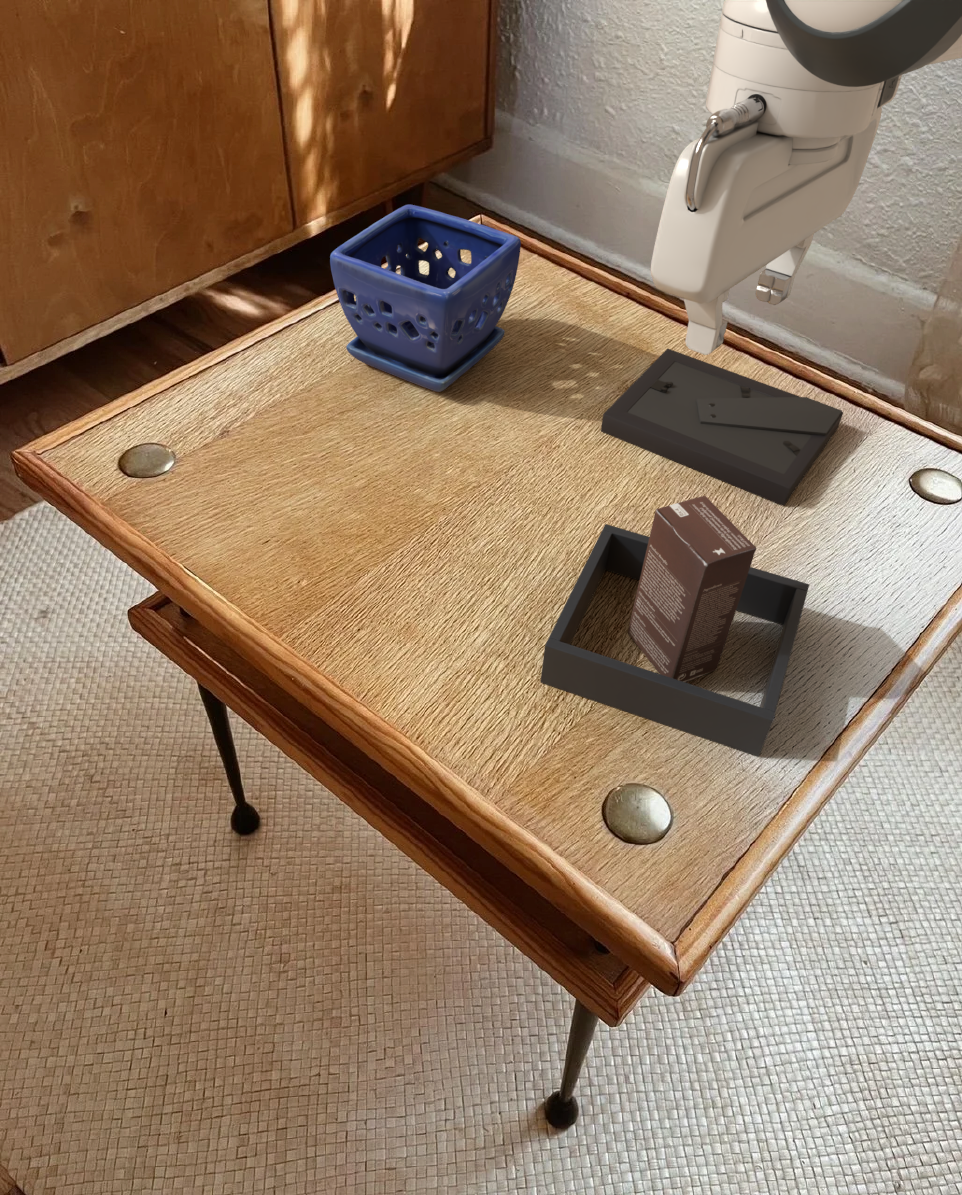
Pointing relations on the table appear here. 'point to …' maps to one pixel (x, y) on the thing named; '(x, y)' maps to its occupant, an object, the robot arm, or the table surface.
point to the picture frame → (723, 425)
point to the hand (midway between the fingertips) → (738, 323)
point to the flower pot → (425, 294)
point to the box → (689, 588)
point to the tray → (658, 692)
